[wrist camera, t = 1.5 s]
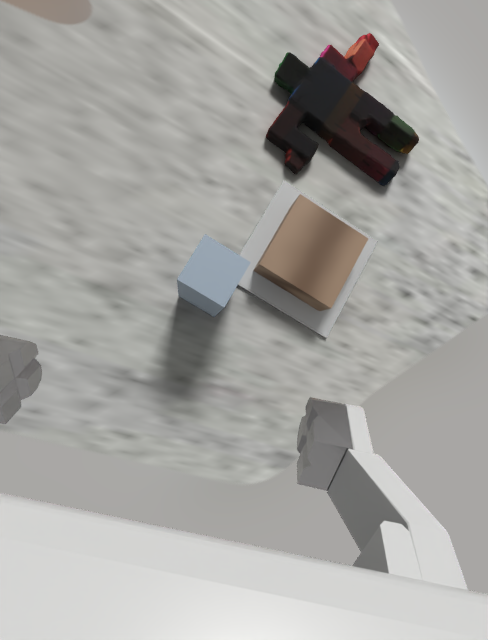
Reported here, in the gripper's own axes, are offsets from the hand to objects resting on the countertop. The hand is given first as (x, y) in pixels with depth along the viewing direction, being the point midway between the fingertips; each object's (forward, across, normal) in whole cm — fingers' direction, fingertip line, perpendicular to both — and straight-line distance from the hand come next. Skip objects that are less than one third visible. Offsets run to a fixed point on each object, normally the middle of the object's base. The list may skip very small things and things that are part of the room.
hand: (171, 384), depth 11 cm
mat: (+28, -6, +6) cm, 29 cm away
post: (+23, +3, +10) cm, 25 cm away
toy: (+38, -7, -5) cm, 39 cm away
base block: (+28, -6, +6) cm, 29 cm away
